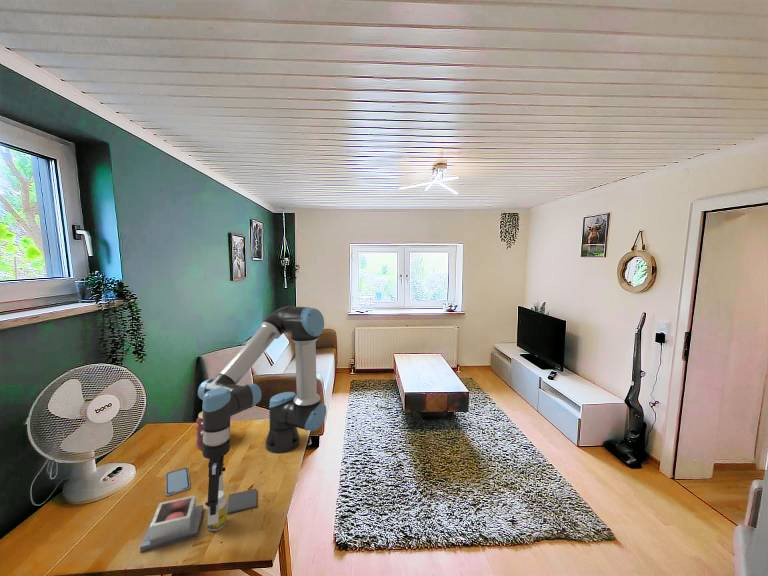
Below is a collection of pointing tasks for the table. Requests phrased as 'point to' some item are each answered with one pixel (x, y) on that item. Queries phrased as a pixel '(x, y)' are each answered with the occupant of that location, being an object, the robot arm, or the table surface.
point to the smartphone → (177, 481)
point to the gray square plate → (242, 501)
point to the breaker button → (175, 516)
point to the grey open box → (173, 523)
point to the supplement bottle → (221, 513)
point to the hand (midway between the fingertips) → (215, 507)
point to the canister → (199, 431)
